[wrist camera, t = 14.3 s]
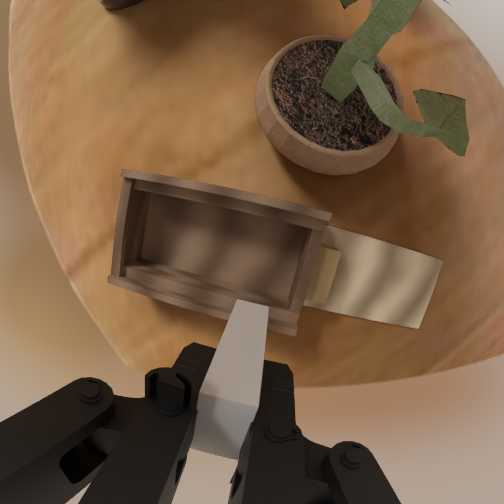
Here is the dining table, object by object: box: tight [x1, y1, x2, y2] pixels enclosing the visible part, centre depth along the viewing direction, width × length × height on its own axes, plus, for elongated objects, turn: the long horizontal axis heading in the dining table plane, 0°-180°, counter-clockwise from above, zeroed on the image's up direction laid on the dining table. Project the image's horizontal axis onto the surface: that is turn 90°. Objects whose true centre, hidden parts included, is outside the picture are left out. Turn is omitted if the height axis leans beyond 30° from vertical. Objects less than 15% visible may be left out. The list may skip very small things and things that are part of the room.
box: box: [108, 169, 332, 337], centre depth 30 cm, size 22×13×7 cm, turn 77°
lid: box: [303, 225, 443, 329], centre depth 30 cm, size 19×10×5 cm, turn 77°
